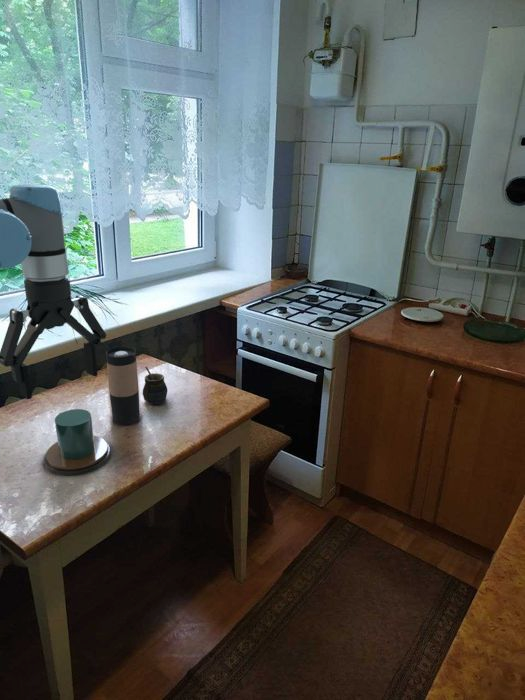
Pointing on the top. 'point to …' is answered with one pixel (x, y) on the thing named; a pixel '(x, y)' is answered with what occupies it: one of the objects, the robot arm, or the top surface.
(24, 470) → the top surface
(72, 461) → the tea cup
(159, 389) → the mate gourd
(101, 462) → the base
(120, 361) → the travel mug
